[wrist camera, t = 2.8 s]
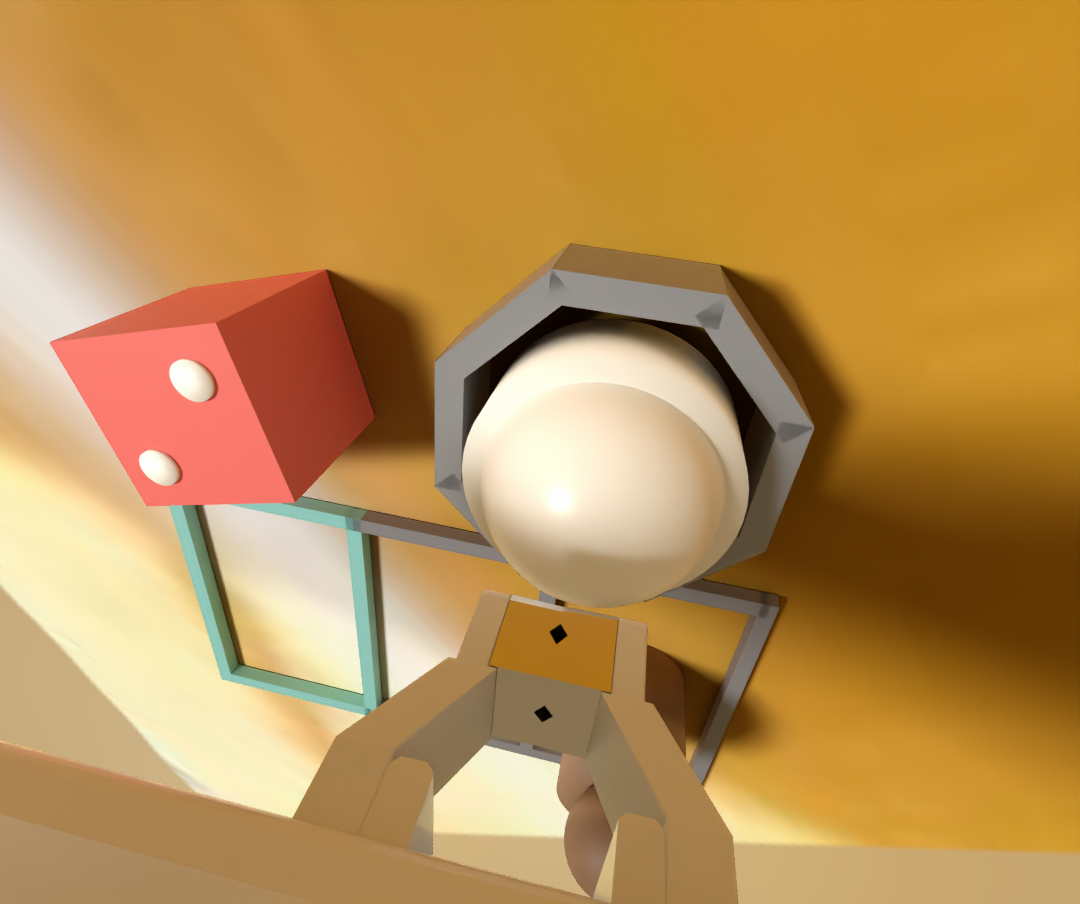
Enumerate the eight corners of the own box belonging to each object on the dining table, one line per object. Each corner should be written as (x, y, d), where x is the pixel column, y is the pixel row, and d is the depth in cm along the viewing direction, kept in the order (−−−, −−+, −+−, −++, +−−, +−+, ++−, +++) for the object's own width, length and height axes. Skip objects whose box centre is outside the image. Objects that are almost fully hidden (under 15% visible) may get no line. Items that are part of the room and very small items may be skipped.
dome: (768, 334, 15) (815, 453, 10) (702, 542, 19) (712, 705, 14) (504, 293, 16) (423, 384, 11) (490, 500, 20) (425, 640, 14)
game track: (777, 595, 20) (779, 607, 20) (695, 784, 27) (695, 797, 26) (172, 470, 23) (161, 478, 23) (229, 669, 30) (221, 679, 29)
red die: (325, 269, 18) (211, 324, 13) (375, 417, 20) (292, 505, 16) (189, 287, 19) (44, 344, 14) (251, 425, 21) (142, 508, 17)
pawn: (696, 655, 23) (704, 888, 16) (672, 723, 25) (670, 951, 18) (584, 631, 23) (547, 846, 17) (571, 699, 26) (533, 912, 19)
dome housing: (831, 280, 15) (859, 314, 13) (730, 560, 20) (737, 622, 18) (469, 229, 16) (434, 251, 14) (461, 506, 21) (434, 557, 19)
